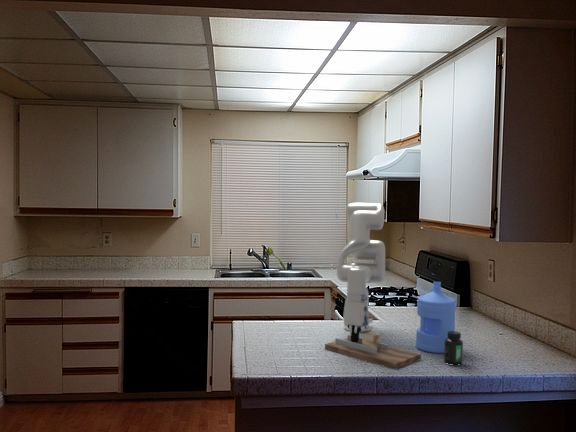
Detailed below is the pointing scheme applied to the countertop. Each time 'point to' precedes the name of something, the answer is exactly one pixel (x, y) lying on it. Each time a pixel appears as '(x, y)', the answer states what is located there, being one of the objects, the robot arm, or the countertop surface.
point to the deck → (383, 357)
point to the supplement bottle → (453, 348)
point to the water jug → (435, 320)
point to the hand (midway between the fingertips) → (354, 341)
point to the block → (371, 339)
